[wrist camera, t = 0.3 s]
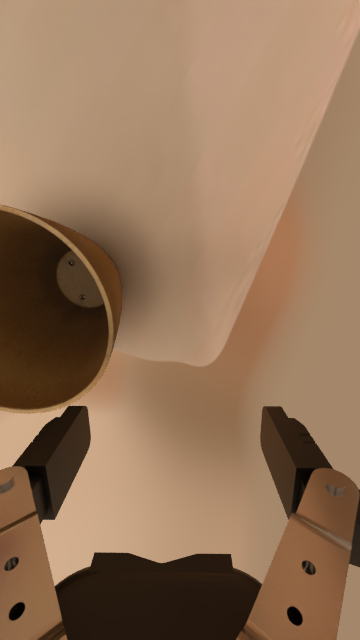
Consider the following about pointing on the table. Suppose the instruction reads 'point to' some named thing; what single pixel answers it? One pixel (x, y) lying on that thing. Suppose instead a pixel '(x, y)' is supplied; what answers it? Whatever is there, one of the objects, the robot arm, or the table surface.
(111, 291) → the plant pot
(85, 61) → the table surface
